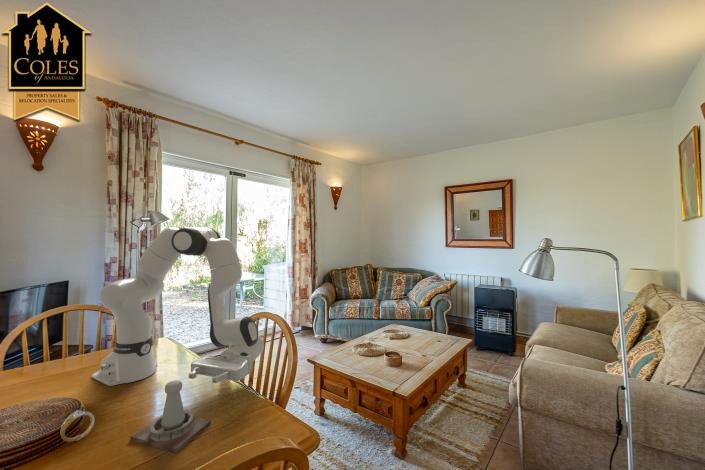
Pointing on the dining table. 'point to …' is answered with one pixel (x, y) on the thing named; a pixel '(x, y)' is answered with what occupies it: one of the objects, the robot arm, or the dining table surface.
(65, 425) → the bracelet
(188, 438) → the ring stand
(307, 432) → the dining table surface
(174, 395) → the salt shaker
